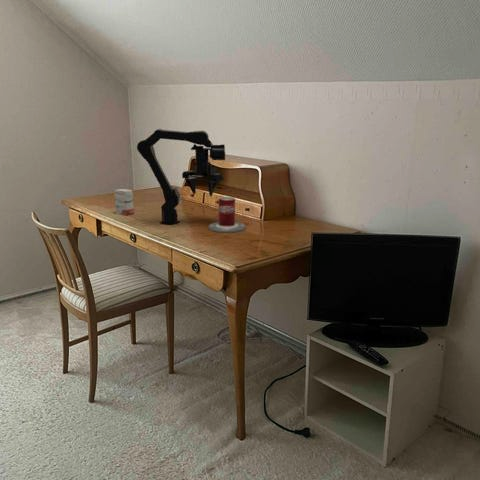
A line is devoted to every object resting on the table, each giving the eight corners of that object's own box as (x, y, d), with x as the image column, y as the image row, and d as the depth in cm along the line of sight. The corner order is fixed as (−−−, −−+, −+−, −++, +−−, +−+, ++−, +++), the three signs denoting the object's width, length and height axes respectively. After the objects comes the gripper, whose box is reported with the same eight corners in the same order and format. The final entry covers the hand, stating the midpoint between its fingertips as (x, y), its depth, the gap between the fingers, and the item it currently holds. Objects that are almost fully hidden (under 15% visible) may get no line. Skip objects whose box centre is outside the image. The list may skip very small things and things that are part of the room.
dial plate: (209, 223, 227) (209, 221, 227) (244, 223, 228) (244, 220, 227) (208, 232, 212) (208, 230, 211) (246, 232, 212) (246, 230, 212)
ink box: (134, 214, 244) (133, 190, 241) (127, 215, 240) (125, 191, 237) (123, 211, 249) (121, 188, 246) (115, 213, 245) (113, 189, 242)
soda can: (220, 222, 223) (220, 196, 220) (236, 223, 222) (236, 197, 219) (217, 227, 216) (216, 199, 213) (233, 227, 215) (233, 200, 212)
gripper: (229, 159, 221) (229, 194, 226) (196, 156, 231) (196, 190, 235) (215, 162, 212) (215, 198, 217) (180, 159, 222) (181, 193, 226)
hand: (202, 195), depth 224 cm, fingers open, 9 cm apart
